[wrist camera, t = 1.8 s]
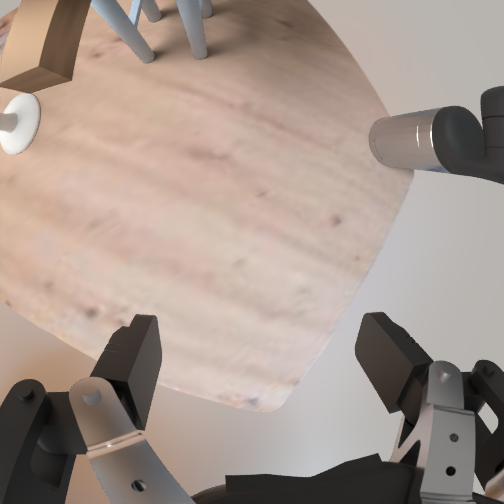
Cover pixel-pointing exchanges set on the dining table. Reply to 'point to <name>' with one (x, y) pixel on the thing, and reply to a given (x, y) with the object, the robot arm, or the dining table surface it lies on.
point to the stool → (190, 8)
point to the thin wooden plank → (42, 44)
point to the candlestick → (19, 123)
